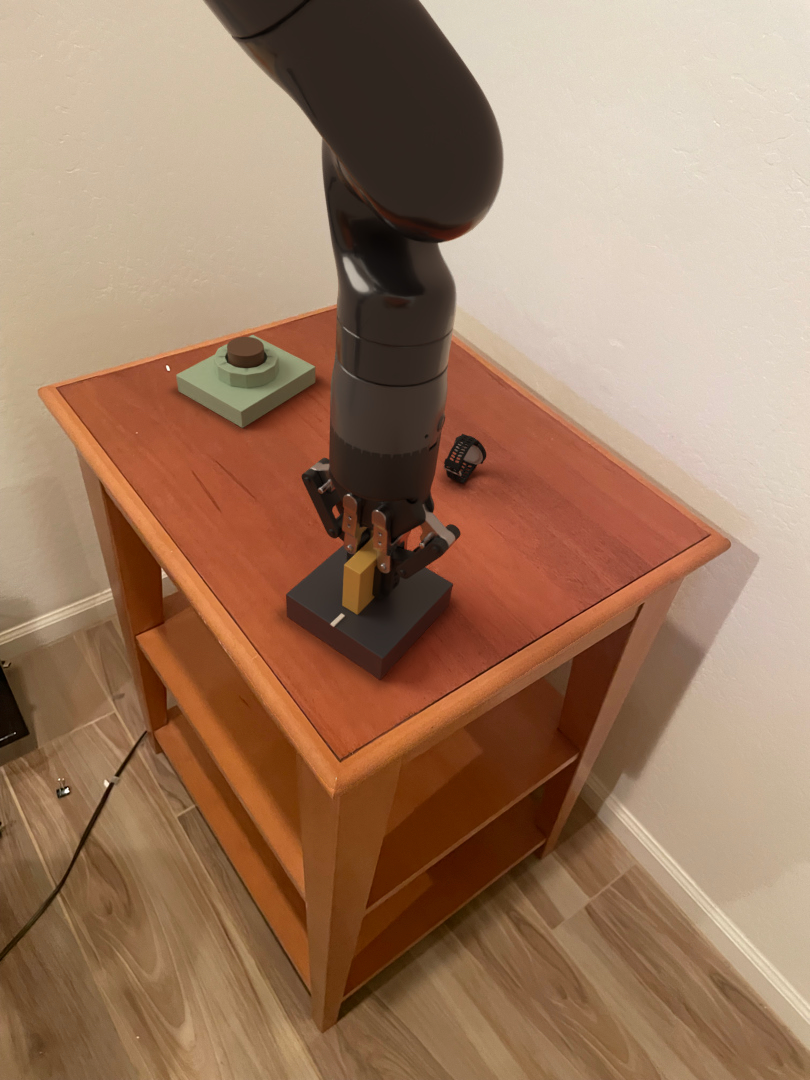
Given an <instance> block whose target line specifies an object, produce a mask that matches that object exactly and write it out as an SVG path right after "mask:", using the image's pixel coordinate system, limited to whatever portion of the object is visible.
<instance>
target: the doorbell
mask: <svg viewBox="0 0 810 1080" xmlns="http://www.w3.org/2000/svg"><path fill="white" fill-rule="evenodd" d="M248 337H252V338H256V339H258V340H260V341H261V342H262V343H263V345H264V358H265V360H264V363H263V364H262V365H260V366H258V367H254V368H248V369H245V368H238V367H234V366H233V365H231V364H230V363H229V362H228V353H227V344H228V343H226V344H223V345H222V346H220V347H218V348H217V350H216V352H215V354H213V355H211V356H209V357H207V358H206V359H203V360H201V361H199V362H197V363H196V364H194V365H192V366H190V367H188V368H186V369H184V370H183V371H180V372H179V373H176V374H175V378H176V384H177V391H178V392H179V393H181V394H182V395H184V396H186V397H188V398H190V399H191V400H193V401H195V402H196V403H198V404H200V405H201V406H203V407H205V408H207V409H209V410H210V411H212V412H214V413H215V414H217V415H218V416H221V417H222V418H224V419H226V420H227V421H229V422H231V423H233V424H234V425H237V426H238V427H240V428H241V429H244V428H245V427H247V426H248V425H250V424H252V423H253V422H255V421H256V420H258V419H259V418H261V417H263V416H264V415H266V414H267V413H269V412H271V411H272V410H274V409H275V408H277V407H279V406H280V405H282V404H283V403H285V402H286V401H288V400H290V399H292V398H293V397H294V396H296V395H298V394H299V393H301V392H302V391H304V390H305V389H307V388H309V387H311V386H312V385H314V384H315V383H316V366H315V365H313V364H311V363H309V362H307V361H306V360H303V359H302V358H299V357H298V356H296V355H294V354H292V353H289V352H288V351H286V350H284V349H282V348H280V347H278V346H276V345H274V344H272V343H270V342H268V341H266V340H265V339H262V338H260V337H259V336H256V335H254V334H251V335H249V336H248Z"/></svg>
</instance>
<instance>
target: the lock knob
mask: <svg viewBox="0 0 810 1080" xmlns="http://www.w3.org/2000/svg"><path fill="white" fill-rule="evenodd" d="M376 566H377V550H375V549H374V548H373V538H372V539H371V540H370V541H368V542H367V543H366V544H365V545H364V546H363V547H362V548H361V549H360V550H359V551H358V552H357V553H356V554H355V555H354V556H353V557H352V558H351V559H350V560H349V561H348V562H347V563H345V564H344V579H343V600H342V606H344V607H345V608H347V609H349V610H350V611H352V612H354V613H355V614H357V615H358V614H359V613H360V612H361V611H362V610H363V609H364V608H365V607H366V606H367V605H368V604H369V602H370V601H371V600H372V599H373V598H374V596H373V595H372V590H373V579H374V568H375V567H376Z"/></svg>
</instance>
